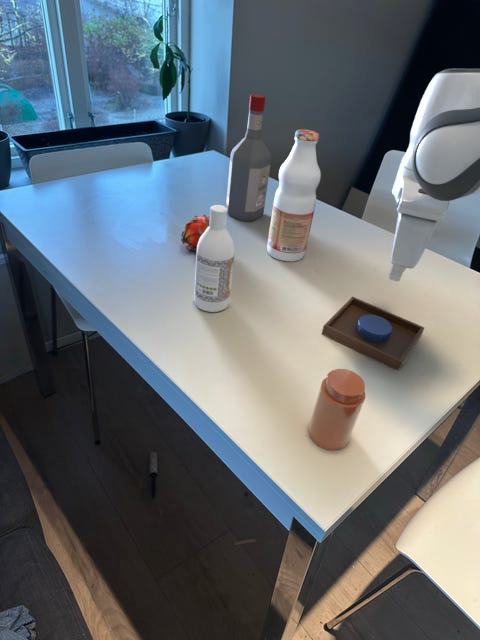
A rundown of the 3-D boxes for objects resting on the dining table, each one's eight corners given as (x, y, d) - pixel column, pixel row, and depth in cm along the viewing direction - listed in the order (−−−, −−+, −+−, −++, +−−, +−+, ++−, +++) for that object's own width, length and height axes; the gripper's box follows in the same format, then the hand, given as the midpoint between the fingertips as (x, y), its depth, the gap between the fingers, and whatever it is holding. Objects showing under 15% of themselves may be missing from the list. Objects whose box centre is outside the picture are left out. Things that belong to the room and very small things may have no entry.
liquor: (266, 213, 126) (283, 97, 108) (249, 224, 119) (265, 102, 101) (239, 204, 129) (251, 90, 111) (221, 213, 123) (231, 94, 105)
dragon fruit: (222, 246, 111) (186, 267, 105) (202, 218, 111) (165, 237, 105) (236, 230, 104) (198, 251, 98) (215, 200, 104) (175, 219, 98)
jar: (355, 430, 66) (375, 380, 60) (338, 457, 62) (358, 406, 56) (319, 410, 69) (335, 359, 62) (301, 434, 65) (315, 383, 58)
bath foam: (229, 314, 86) (240, 218, 74) (193, 312, 86) (198, 215, 74) (228, 293, 92) (238, 201, 80) (194, 292, 91) (199, 198, 79)
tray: (421, 335, 87) (424, 327, 86) (398, 371, 78) (402, 362, 77) (349, 304, 93) (352, 296, 92) (321, 334, 84) (323, 325, 83)
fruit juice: (258, 249, 108) (275, 128, 92) (284, 240, 114) (304, 124, 97) (286, 266, 103) (310, 141, 86) (312, 255, 109) (339, 136, 92)
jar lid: (351, 332, 85) (353, 324, 83) (363, 318, 89) (366, 310, 88) (382, 347, 82) (385, 339, 81) (393, 331, 86) (397, 323, 85)
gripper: (405, 164, 77) (382, 237, 85) (399, 205, 61) (371, 289, 69) (443, 171, 75) (416, 245, 84) (447, 215, 60) (412, 300, 68)
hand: (395, 265), depth 76 cm, fingers open, 8 cm apart
